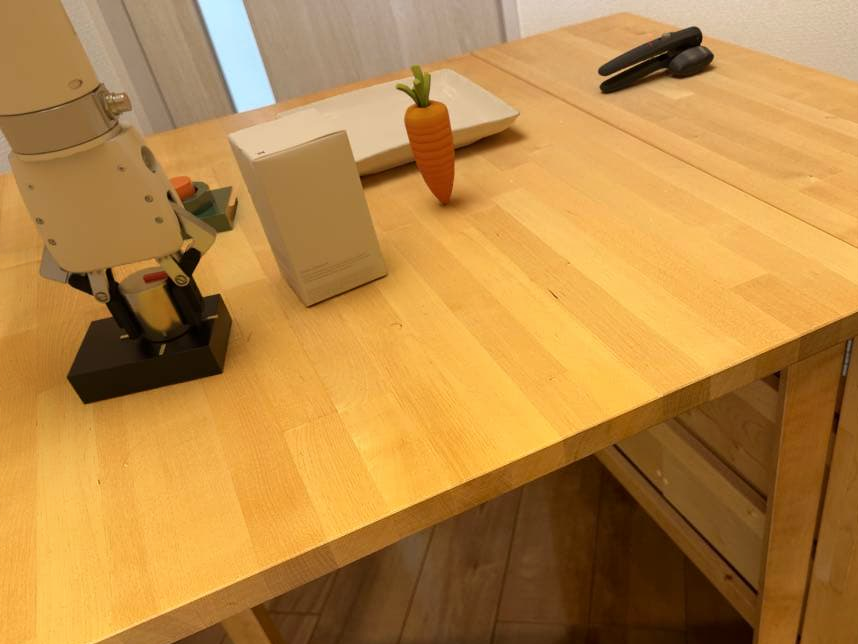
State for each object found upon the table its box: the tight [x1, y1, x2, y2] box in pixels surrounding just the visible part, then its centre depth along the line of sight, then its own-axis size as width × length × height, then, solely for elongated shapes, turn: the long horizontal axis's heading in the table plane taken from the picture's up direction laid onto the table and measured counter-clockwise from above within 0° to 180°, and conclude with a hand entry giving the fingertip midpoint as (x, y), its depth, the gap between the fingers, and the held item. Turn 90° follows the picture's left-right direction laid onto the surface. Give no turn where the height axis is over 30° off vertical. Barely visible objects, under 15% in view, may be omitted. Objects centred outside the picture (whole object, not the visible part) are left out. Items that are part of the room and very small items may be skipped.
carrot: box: [396, 64, 456, 205], centre depth 83 cm, size 5×5×15 cm
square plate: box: [275, 68, 521, 177], centre depth 104 cm, size 27×27×4 cm
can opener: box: [597, 25, 715, 93], centre depth 109 cm, size 18×7×6 cm, turn 114°
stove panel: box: [66, 293, 233, 405], centre depth 69 cm, size 12×9×3 cm
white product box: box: [227, 108, 388, 307], centre depth 74 cm, size 9×9×15 cm
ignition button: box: [169, 175, 196, 200], centre depth 89 cm, size 4×4×2 cm
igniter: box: [181, 181, 239, 241], centre depth 91 cm, size 10×8×4 cm
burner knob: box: [118, 266, 192, 342], centre depth 67 cm, size 4×4×5 cm
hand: (167, 322), depth 68 cm, fingers closed on burner knob, 4 cm apart
